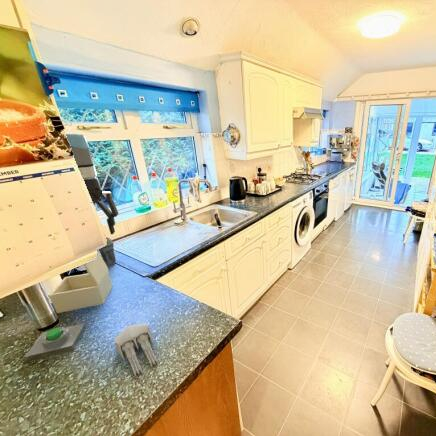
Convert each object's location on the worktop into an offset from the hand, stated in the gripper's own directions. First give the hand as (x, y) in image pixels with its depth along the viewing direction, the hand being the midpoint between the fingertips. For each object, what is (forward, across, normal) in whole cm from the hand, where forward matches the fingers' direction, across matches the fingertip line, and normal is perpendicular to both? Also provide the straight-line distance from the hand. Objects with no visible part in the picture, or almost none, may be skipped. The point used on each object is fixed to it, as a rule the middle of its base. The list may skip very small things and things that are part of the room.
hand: (101, 234), depth 95 cm
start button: (+25, -12, -24) cm, 37 cm away
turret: (+29, +14, -37) cm, 49 cm away
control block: (+29, -12, -24) cm, 40 cm away
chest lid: (+12, -6, 0) cm, 13 cm away
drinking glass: (+29, -22, +27) cm, 45 cm away
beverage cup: (+29, -11, +30) cm, 43 cm away
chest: (+29, -12, 0) cm, 31 cm away
